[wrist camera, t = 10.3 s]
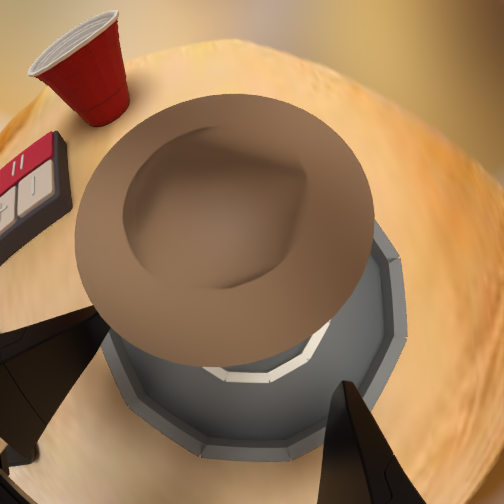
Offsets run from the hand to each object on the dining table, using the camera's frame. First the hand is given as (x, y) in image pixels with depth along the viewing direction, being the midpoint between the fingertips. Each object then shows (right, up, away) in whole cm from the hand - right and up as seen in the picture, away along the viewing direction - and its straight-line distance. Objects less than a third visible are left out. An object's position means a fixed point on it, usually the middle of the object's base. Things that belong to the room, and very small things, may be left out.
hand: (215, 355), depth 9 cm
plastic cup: (-16, +20, +17) cm, 31 cm away
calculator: (-25, +8, +14) cm, 29 cm away
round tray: (+1, 0, +9) cm, 9 cm away
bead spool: (+1, 0, +8) cm, 8 cm away
